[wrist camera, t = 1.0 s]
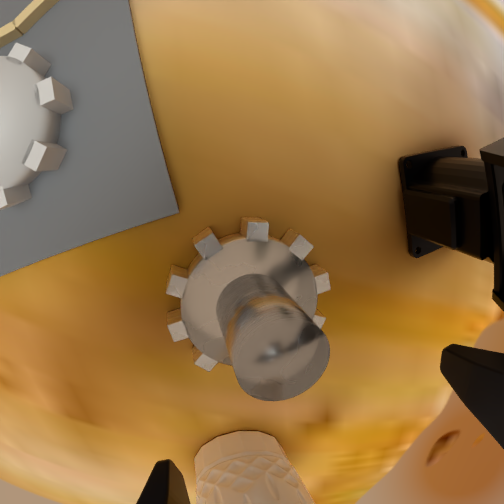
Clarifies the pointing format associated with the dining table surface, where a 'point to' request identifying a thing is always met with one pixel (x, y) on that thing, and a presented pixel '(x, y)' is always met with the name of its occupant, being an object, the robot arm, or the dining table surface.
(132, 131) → the carrier plate
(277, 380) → the gear
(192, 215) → the dining table surface
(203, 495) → the white cup
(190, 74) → the dining table surface
